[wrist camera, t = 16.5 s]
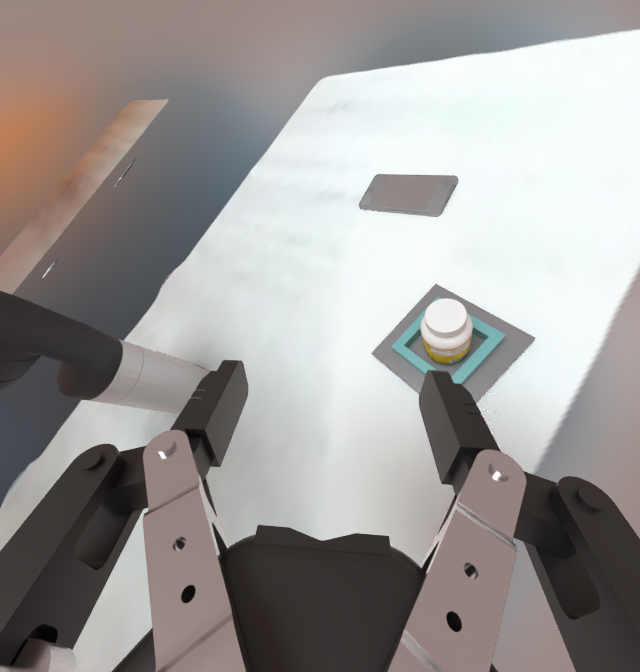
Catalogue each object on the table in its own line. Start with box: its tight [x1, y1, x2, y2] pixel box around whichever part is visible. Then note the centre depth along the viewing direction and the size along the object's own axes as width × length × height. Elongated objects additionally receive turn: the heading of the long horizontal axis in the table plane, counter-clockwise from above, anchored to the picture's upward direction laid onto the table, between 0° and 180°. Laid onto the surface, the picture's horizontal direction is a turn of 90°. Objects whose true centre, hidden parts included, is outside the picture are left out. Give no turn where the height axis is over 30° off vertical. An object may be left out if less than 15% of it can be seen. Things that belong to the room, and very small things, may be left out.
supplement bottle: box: [420, 298, 473, 366], centre depth 32 cm, size 5×5×10 cm
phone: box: [359, 174, 458, 217], centre depth 49 cm, size 8×16×1 cm, turn 58°
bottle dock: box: [372, 284, 535, 403], centre depth 35 cm, size 14×14×3 cm
